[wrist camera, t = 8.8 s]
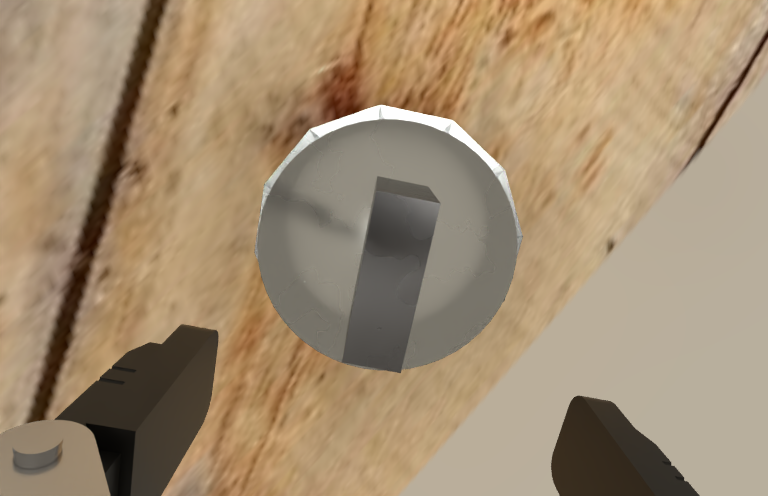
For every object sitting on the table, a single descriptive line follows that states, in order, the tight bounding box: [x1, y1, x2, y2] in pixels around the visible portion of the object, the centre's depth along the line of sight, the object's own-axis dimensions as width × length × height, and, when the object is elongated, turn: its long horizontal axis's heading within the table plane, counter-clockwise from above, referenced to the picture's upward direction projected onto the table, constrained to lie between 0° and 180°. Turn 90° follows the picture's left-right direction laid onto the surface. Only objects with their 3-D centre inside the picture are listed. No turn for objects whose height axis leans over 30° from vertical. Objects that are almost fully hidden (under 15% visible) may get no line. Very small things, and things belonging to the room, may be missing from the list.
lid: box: [257, 119, 517, 373], centre depth 21 cm, size 12×12×6 cm
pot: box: [255, 105, 523, 303], centre depth 29 cm, size 13×13×9 cm
